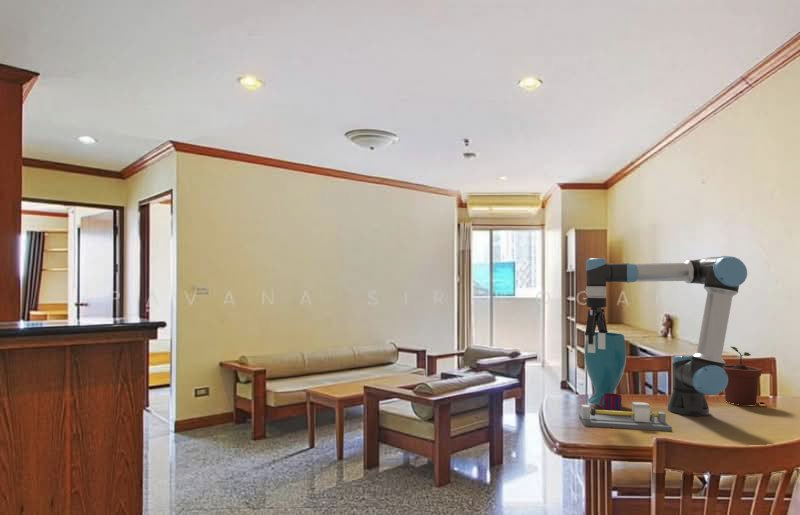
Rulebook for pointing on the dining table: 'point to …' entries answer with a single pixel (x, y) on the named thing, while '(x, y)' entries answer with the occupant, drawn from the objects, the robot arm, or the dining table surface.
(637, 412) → the sleeve
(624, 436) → the dining table surface
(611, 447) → the dining table surface
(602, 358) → the vase
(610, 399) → the mug
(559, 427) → the dining table surface
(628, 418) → the linear slide mechanism
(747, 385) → the potted plant
